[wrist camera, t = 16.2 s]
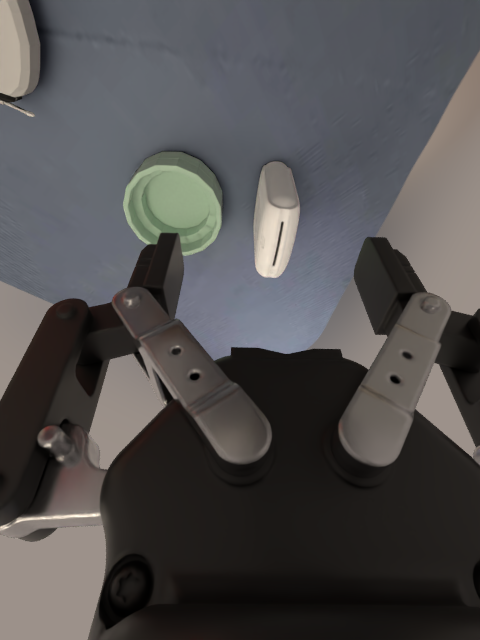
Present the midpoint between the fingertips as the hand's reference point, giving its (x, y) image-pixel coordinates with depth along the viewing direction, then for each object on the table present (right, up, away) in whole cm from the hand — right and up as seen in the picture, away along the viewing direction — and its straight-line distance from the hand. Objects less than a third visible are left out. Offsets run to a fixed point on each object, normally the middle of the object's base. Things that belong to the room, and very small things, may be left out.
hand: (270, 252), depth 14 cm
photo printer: (+3, +14, +30) cm, 33 cm away
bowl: (-10, +14, +29) cm, 34 cm away
